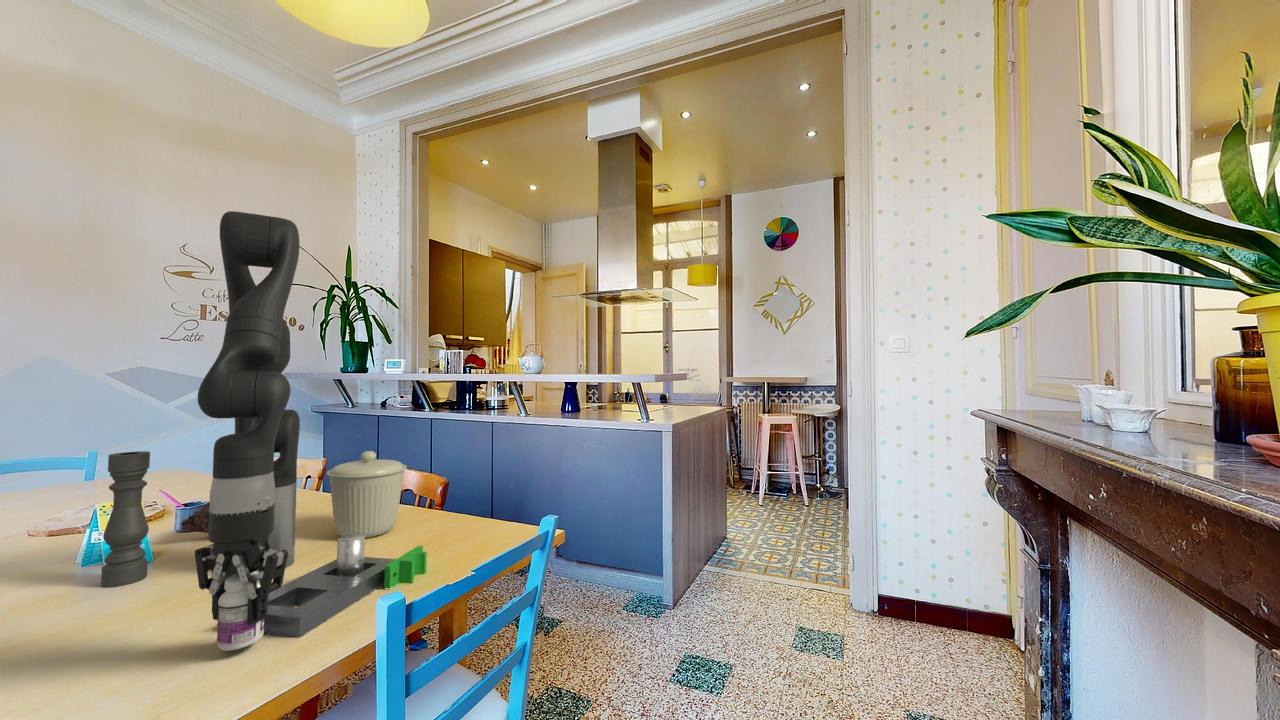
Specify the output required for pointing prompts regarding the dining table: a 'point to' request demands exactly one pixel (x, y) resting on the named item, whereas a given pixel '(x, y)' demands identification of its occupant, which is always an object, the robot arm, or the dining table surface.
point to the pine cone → (198, 521)
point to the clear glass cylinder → (350, 555)
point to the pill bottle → (236, 617)
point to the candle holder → (126, 520)
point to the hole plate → (319, 597)
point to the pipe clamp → (406, 567)
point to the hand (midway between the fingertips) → (239, 618)
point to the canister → (366, 495)
